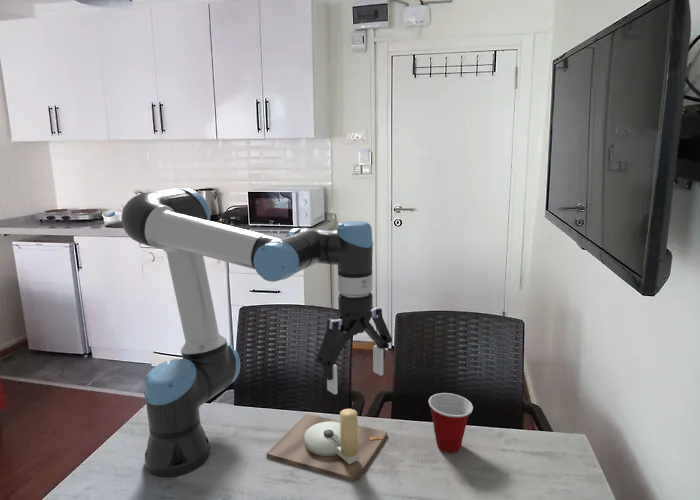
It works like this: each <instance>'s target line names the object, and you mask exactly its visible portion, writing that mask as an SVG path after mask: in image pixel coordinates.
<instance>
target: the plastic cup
mask: <svg viewBox="0 0 700 500" xmlns="http://www.w3.org/2000/svg"><path fill="white" fill-rule="evenodd" d="M428 404H429V405H428V406H429V407H430V410H431V411H430V413H431V416H432V417H431V418H432V425H433V431H434V435H435V442H436V445H437V448H438V449H439V450H440V451H442V452H445V453H449V454H453V453H457V452H458V451H459V450H461V447H462V444H463V443H462V442H463V438H464V435H465V433H466V432H465V430H466V426H467V423H468V419H469V417H470V415H471V414H472V412H473V409H474V406H473V404H472V402H471V401H470V400H468V399H467V398H465V397H464V396H461V395H459V394H456V393H451V392H450V393H449V392H441V393H435V394H433V395H431V396H430V397H429V398H428Z"/></svg>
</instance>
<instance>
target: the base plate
mask: <svg viewBox="0 0 700 500" xmlns="http://www.w3.org/2000/svg"><path fill="white" fill-rule="evenodd" d="M321 422H339V423H340V420H336V419H333V418H328V417H323V416H319V415H315V414H311V413H305V414H304V415H303V416H302V417H301V418H300V419H299V420H298V421H297V422H296V423H295V424H294V425H293V426H292V427H291V428H290V429H289V430H288V431H287V432H286V433H285V434H284V435H283V436H282V437H281V438H280V439H279V440H278V441H277V442H276V443H275V444H274V445H273V446H272V447H271V448H270V449H269V450H268V451H267V452H266V453H265V455H266V458H269V459H272V460H276V461H279V462H282V463H283V462H284V463H287V464H289V465H290V464H291V465H293V466H294V465H295V466H297V467H301V468H304V469H307V470H311V471H315V472H319V473H321V474H325V475H326V474H327V475H329V476H334V477H336V478H340V479H343V480H347V481H351V482H354V483H358V481H359V479H360V478H361V476H362V475H363V473H364V472H365V470H366V469H367V467H368V465H370V462H371V461H372V459H373V458H374V457H375V455H376V453H377V452H378V450H379V449H380V447H381V446H382V444H383V443H384V441H385V440H386V438H388V437H387V436H388V431H385V430H381V429H377V428H373V427H368V426H362V425H360V424H359V425H358V424H357V433H358V453H360V459H359V460H357V461H355V462H353V463H351V464H348V463H347V462H346V461H345V460H344V459H343V458H341V457H340V456H339V455H334V456H320V455H316V454H313V453H311V452H310V451H309V450H308V449H307V448H306V446H305V432H306V431H307V429H309V428H310V427H311V426H313V425H315V424H318V423H321Z"/></svg>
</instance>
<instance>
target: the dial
mask: <svg viewBox="0 0 700 500" xmlns="http://www.w3.org/2000/svg"><path fill="white" fill-rule="evenodd" d="M339 421H340V423H339V422H321V423H318V424H315V425H313V426H311V427H310V428H309V429H307V431H306V432H305V446H306V448H307V449H308V450H309V451H310V452H311V453H313V454H316V455H320V456H334V455H339V456H340V457H341V458H343V459H344V460H345V461H346V462H347V463H348V464H351V463H353V462H355V461H357V460H359V459H360V453H358V433H357V425H358V412H357V410H356V409H354V408H353V409H352V408H344V409H342V410H341V411H340V412H339Z"/></svg>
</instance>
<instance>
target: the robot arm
mask: <svg viewBox="0 0 700 500" xmlns="http://www.w3.org/2000/svg"><path fill="white" fill-rule="evenodd" d="M210 209H211V208H210V205H209V203H208V202H207V200H206V199H205V197H204V196H203V195H202V194H200V193H199V192H198V191H196V190H194V189H192V188H187V187H186V188H185V187H183V188H181V187H178V188H171V189H164V190H158V191H151V192H150V191H149V192H142V193H139V194H137V195H135V196H133V197H131V198H130V199H129V200H128V201H127V203H125V204H124V207H123V208H122V213H121V224H122V227H123V230H124V231H125V233H126V234H127V236H128V237H129V238H131V239H132V240H133V241H134V242H137V243H139V244H142V245H145V246H147V247H151V248H155V249H161V250H162V251H164V252H165V254H166V257H167V263H168V266H169V272H170V275H171V281H172V286H173V289H174V295H175V300H176V304H177V308H178V313H179V317H180V322H181V327H182V332H183V336H184V340H185V343H184V344H183V346H182V347H181V349H180V352H181V353H180V354H181V357H182V358H175V359H174V358H173V359H170V360H169V361H168V360H167V361H163V362H161V363H159V364H157V365H155V366H154V367H153V368H151V369H150V371H148V373H147V374H146V377H144V379H145V380H144V391H143V393H144V399H145V405H146V412H147V413H146V414H147V420H148V427H149V428H148V430H149V435H148V441H147V444H146V446H147V447H146V449H145V452H144V463H145V468H146V470H147V471H148V473H151V475H154V476H157V477H163V478H164V477H165V478H167V477H177V476H182V475H186V474H189V473H191V472H193V471H195V470H197V469H198V468H199V467H201V466H203V464H205V463H206V462H207V461H208V460H209V457H210V455H211V445H210V444H211V443H210V440H209V437H207V434H206V432H205V430H204V428H203V426H202V424H201V417H200V414H201V413H200V407H202V405H204V404H205V403H207V402H208V401H209V400H211V399H212V398H214V397H215V396H216V395H218V394H219V393H221V392H222V391H224V390H226V389H228V388H229V386H231V384H232V383H234V382H235V381H236V380H237V378H238V376H239V374H240V370H241V361H240V360H241V359H240V356H239V353H238V351H237V350H236V349H234V346H233V345H231V344H230V343H228V342H227V338H226V337H224V336H222V335H221V334H220V332H219V326H218V323H217V321H218V320H217V317H216V312H215V307H214V304H213V298H212V291H211V287H210V284H209V278H208V274H207V273H208V272H207V268H206V262H205V260H204V259H205V258H204V257H207V258H210V259H214V260H217V261H222V262H224V263H225V262H226V263H230V264H232V265H237V266H240V267H244V268H247V269H251V270H254V271H256V274H258V275H259V276H260V277H261V278H262V279H263V280H264V281H266V282H273V283H274V282H279V281H282V280H283V281H284V280H287V279H288V278H290V277H292V276H293V275H295V274H297V273H299V272H301V271H303V270H304V269H307V268H309V267H312V266H313V265H317V264H322V265H323V264H324V265H333V266H334V265H335V266H337V292H339V293H338V295H337V297H338V298H337V300H338V301H337V303H338V304H337V305H338V306H337V307H338V311H339V313H340V314H339V317H338V319H332V318H329V319H327V327H326V331H325V334H324V337H323V340H322V343H321V345H320V348H319V351H318V353H317V356H316V359H315V362H316V363H317V364H318V365H320V366H322V367H324V368H323V369H324V378H325V379H326V388H327V389H326V390H327V392H330V393H332V394H333V395H338V365H336V364H335V363H336V362H337V359H338V358H339V356H340V354H341V353H342V351H343V350H344V347H345V345H346V344H347V342H348V341H349V340H350V339H351V338H352V336H356V335H358V334H362V333H364V332H365V333H366V334H367V335H368V337H369V338H370V339H371V340H372V341H373V342H374V343H375V344H376V345H372V353H373V354H372V370H373V371H372V372H373V373H375V374H377V375H378V376H380V377H381V376H383V375H384V360H385V358H386V349H388V348H389V344H391V343H392V342H393V338H392V336H391V334H390V331H389V329H388V327H387V324H386V321H385V320H384V318H383V309H382V308H380V307H378V306H374V305H373V304H374V303H373V297H374V296H373V294H372V292H373V251H374V250H373V246H374V241H373V228H372V226H371V224H370V223H369V222H366V221H361V220H346V221H341V222H339V223H337V225H336V229H333V230H332V229H321V228H310V227H301V228H300V227H296V228H295V227H293V228H291V229H289V231H288V233H287V234H286V235H285V237H278V236H274V235H269V234H265V233H261V232H258V231H253V230H249V229H244V228H241V227H237V226H232V225H228V224H225V223H224V224H223V223H221V222H217V221H212V220H211V210H210ZM371 319H372V321H373V323H374V325H372V324H371V322H370V321H371ZM374 326H375V327H374ZM375 328H376V329H377V331H376V329H375Z"/></svg>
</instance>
